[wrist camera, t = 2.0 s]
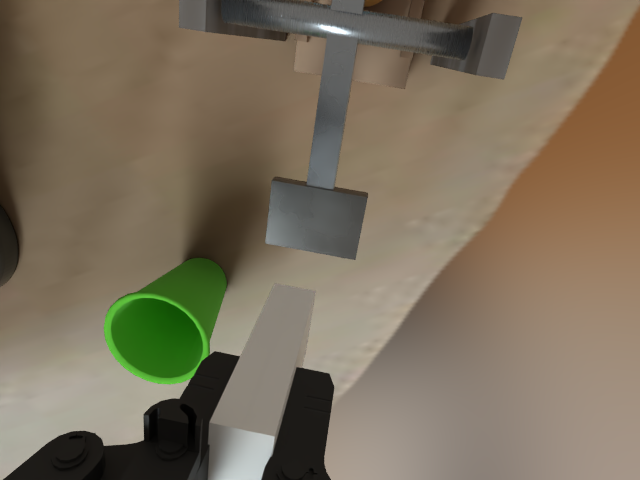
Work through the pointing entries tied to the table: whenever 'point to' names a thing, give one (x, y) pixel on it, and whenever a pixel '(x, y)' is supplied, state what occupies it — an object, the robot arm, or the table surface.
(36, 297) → the table surface
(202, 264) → the cup
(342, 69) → the lever
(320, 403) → the robot arm
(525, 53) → the table surface
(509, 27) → the grey angular frame
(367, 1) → the ball
